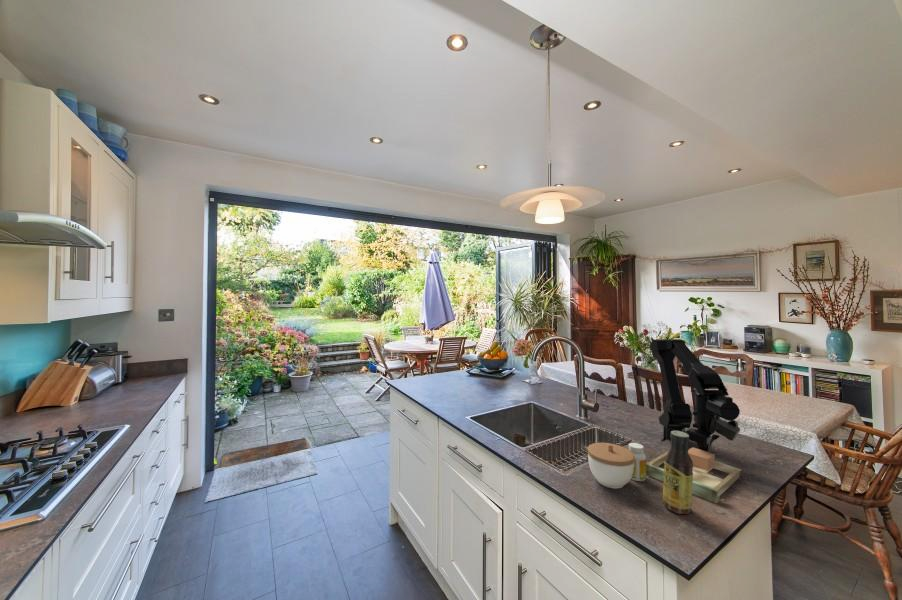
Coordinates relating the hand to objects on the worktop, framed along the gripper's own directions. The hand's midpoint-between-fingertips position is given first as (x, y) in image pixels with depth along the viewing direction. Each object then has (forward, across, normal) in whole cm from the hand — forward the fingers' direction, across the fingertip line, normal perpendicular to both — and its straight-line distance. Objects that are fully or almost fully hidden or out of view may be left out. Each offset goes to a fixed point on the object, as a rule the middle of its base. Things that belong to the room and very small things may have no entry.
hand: (705, 456), depth 112 cm
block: (+1, -4, 0) cm, 5 cm away
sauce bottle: (+2, -34, -4) cm, 35 cm away
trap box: (+2, -10, -1) cm, 10 cm away
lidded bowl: (+2, -36, +12) cm, 38 cm away
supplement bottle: (+2, -27, +9) cm, 29 cm away
